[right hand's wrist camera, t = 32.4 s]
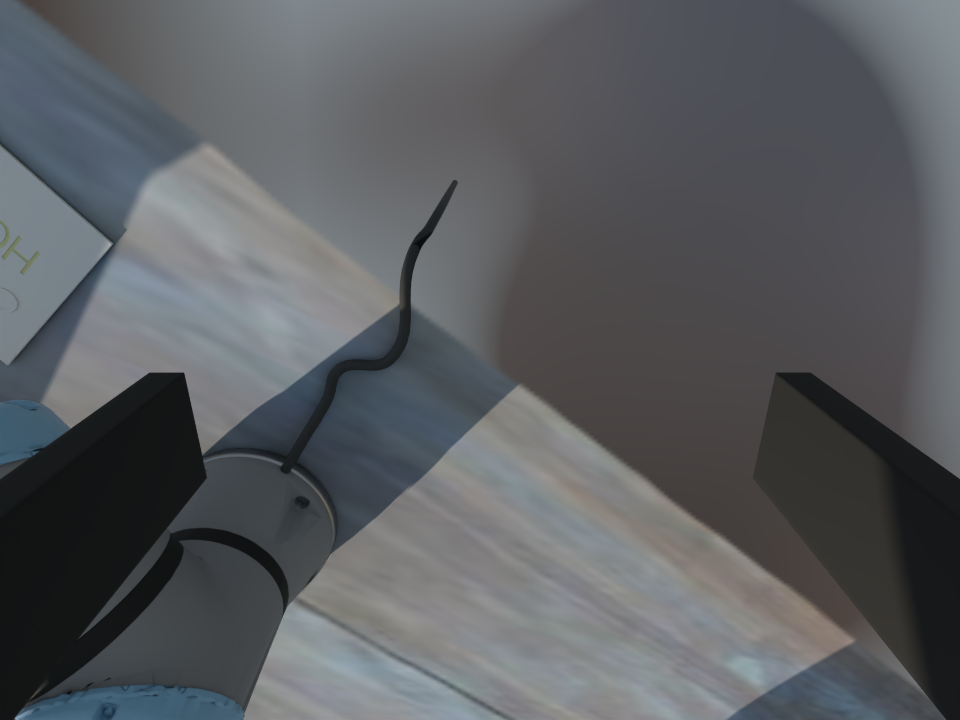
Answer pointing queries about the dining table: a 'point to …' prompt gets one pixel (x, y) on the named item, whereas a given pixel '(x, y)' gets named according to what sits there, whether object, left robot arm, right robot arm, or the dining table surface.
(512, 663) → the dining table surface
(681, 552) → the dining table surface
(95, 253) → the invitation card
